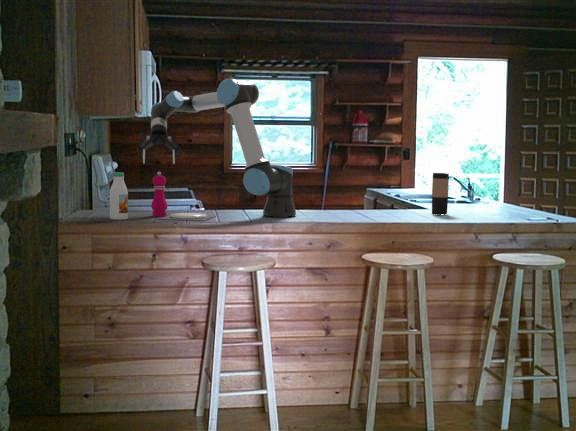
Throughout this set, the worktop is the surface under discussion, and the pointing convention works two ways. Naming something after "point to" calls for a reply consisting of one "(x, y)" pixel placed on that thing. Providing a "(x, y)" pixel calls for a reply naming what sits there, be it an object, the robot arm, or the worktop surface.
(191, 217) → the plate
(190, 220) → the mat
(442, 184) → the travel mug
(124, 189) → the milk bottle
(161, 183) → the pepper mill
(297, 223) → the worktop surface
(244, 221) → the worktop surface
